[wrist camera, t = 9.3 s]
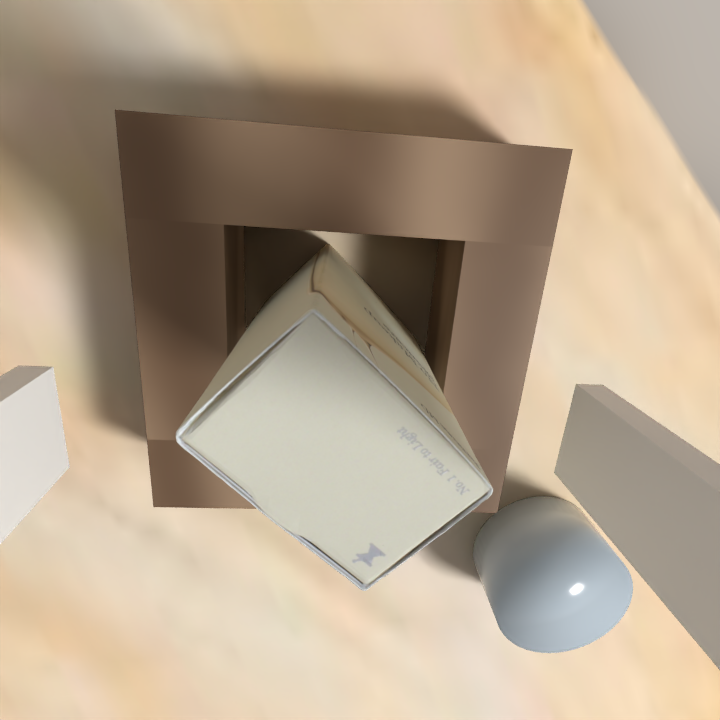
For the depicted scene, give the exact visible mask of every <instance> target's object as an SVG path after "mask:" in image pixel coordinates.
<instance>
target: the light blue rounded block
mask: <svg viewBox="0 0 720 720" xmlns="http://www.w3.org/2000/svg"><path fill="white" fill-rule="evenodd" d="M473 560H474V564H475V567H476V569H477V572H478V574H479V577H480V580H481V582H482V585H483V587H484V590H485V592H486V595H487V597H488V600H489V603H490V605H491V608H492V610H493V613H494V615H495V618H496V621H497V623H498V625H499V628H500V630H501V631H502V633H503V634H504V635H505V636H506V638H507V639H508V640H510V641H511V642H512V643H514V644H515V645H517V646H519V647H521V648H524V649H526V650H530V651H534V652H541V653H557V652H564V651H569V650H573V649H577V648H580V647H583V646H585V645H587V644H590V643H592V642H594V641H595V640H597V639H599V638H600V637H602V636H603V635H605V634H606V633H607V632H609V631H610V630H611V629H612V628H613V627H614V626H615V625H616V624H617V623H618V622H619V621H620V620H621V618H622V617H623V616H624V614H625V612H626V611H627V609H628V607H629V604H630V602H631V598H632V592H633V584H632V579H631V575H630V573H629V571H628V569H627V568H626V566H625V565H624V563H623V562H622V561H621V560H620V558H619V557H618V556H617V555H616V553H615V552H614V551H613V550H612V548H611V547H610V546H609V545H608V543H607V542H606V541H605V539H604V538H603V537H602V536H601V534H600V533H599V532H598V531H597V529H596V528H595V527H594V526H593V524H592V523H591V522H590V521H589V519H588V518H587V517H586V515H585V514H584V513H583V512H582V511H581V510H580V509H579V508H578V507H577V506H575V505H574V504H572V503H570V502H568V501H566V500H563V499H560V498H556V497H548V496H538V497H530V498H526V499H522V500H519V501H516V502H513V503H511V504H509V505H507V506H505V507H504V508H502V509H500V510H499V511H498V512H497V513H495V514H494V515H492V516H491V517H490V518H489V519H488V520H487V521H486V523H485V524H484V525H483V526H482V528H481V529H480V531H479V533H478V535H477V537H476V539H475V543H474V548H473Z"/></svg>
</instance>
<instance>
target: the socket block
mask: <svg viewBox="0 0 720 720" xmlns="http://www.w3.org/2000/svg"><path fill="white" fill-rule="evenodd" d="M115 117H116V127H117V137H118V148H119V158H120V168H121V178H122V188H123V199H124V209H125V219H126V229H127V240H128V250H129V260H130V270H131V281H132V291H133V301H134V311H135V322H136V332H137V342H138V352H139V363H140V373H141V383H142V393H143V404H144V414H145V424H146V434H147V445H148V455H149V465H150V475H151V486H152V496H153V506H154V507H185V508H244V509H257V508H255V507H254V506H253V505H252V504H251V503H250V502H249V501H247V500H246V499H245V498H244V497H242V496H241V495H240V494H239V493H237V492H236V491H235V490H234V489H233V488H231V487H230V486H229V485H227V484H226V483H225V482H224V481H223V480H222V479H220V478H219V477H218V476H216V475H215V474H214V473H213V472H212V471H211V470H209V469H208V468H207V467H206V466H204V465H203V464H202V463H201V462H200V461H199V460H197V459H196V458H195V457H194V456H192V455H191V454H190V453H189V452H187V451H186V450H185V449H183V448H182V447H181V446H180V445H179V444H178V443H177V441H176V432H177V430H178V428H179V427H180V425H181V424H182V423H183V421H184V420H185V418H186V417H187V416H188V414H189V413H190V411H191V410H192V408H193V407H194V406H195V404H196V403H197V401H198V400H199V398H200V397H201V396H202V394H203V393H204V391H205V390H206V388H207V387H208V385H209V384H210V382H211V381H212V379H213V378H214V376H215V375H216V373H217V372H218V371H219V369H220V368H221V366H222V365H223V363H224V362H225V360H226V359H227V357H228V356H229V355H230V353H231V352H232V350H233V349H234V347H235V346H236V344H237V343H238V341H239V340H240V338H241V337H242V335H243V334H244V333H245V276H244V226H253V227H268V228H283V229H298V230H312V231H327V232H342V233H357V234H371V235H386V236H401V237H416V238H431V239H439V245H438V253H437V261H436V269H435V277H434V285H433V293H432V301H431V309H430V317H429V325H428V333H427V341H426V349H425V359H426V360H427V363H428V365H429V367H430V369H431V371H432V373H433V375H434V377H435V379H436V381H437V383H438V385H439V387H440V389H441V391H442V393H443V395H444V396H445V398H446V400H447V402H448V404H449V406H450V408H451V410H452V412H453V414H454V416H455V418H456V420H457V422H458V424H459V426H460V427H461V429H462V431H463V433H464V435H465V437H466V439H467V441H468V443H469V445H470V447H471V449H472V451H473V453H474V455H475V457H476V458H477V460H478V462H479V464H480V466H481V467H482V469H483V471H484V473H485V475H486V476H487V478H488V480H489V482H490V483H491V486H492V488H493V493H492V495H491V496H490V497H489V498H488V499H486V500H485V501H484V502H482V503H481V504H480V505H479V506H477V507H476V508H475V509H474V510H472V511H471V512H478V513H497V512H498V507H499V502H500V497H501V492H502V487H503V483H504V478H505V473H506V468H507V463H508V459H509V454H510V449H511V444H512V439H513V434H514V430H515V425H516V420H517V415H518V410H519V405H520V401H521V396H522V391H523V386H524V381H525V377H526V372H527V367H528V362H529V357H530V352H531V348H532V343H533V338H534V333H535V328H536V324H537V319H538V314H539V309H540V304H541V299H542V295H543V290H544V285H545V280H546V275H547V270H548V266H549V261H550V256H551V251H552V246H553V242H554V237H555V232H556V227H557V222H558V217H559V213H560V208H561V203H562V198H563V193H564V188H565V184H566V179H567V174H568V169H569V164H570V160H571V155H572V150H573V149H563V148H551V147H540V146H528V145H516V144H505V143H493V142H482V141H470V140H459V139H447V138H435V137H424V136H412V135H401V134H389V133H377V132H366V131H354V130H343V129H331V128H320V127H308V126H296V125H285V124H273V123H262V122H250V121H239V120H227V119H215V118H204V117H192V116H181V115H169V114H158V113H146V112H134V111H123V110H115Z"/></svg>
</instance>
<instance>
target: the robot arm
mask: <svg viewBox="0 0 720 720" xmlns="http://www.w3.org/2000/svg"><path fill="white" fill-rule="evenodd" d="M69 467H70V466H69V460H68V454H67V448H66V442H65V436H64V429H63V423H62V417H61V411H60V405H59V399H58V393H57V387H56V381H55V375H54V369H53V367H45V366H17V367H15V368H14V369H12V370H10V371H9V372H7V373H5V374H3V375H2V376H0V544H1V543H2V542H3V541H4V540H5V538H6V537H7V536H8V535H9V534H10V533H11V532H12V531H13V530H14V528H15V527H16V526H17V525H18V524H19V523H20V522H21V521H22V519H23V518H24V517H25V516H26V515H27V514H28V513H29V512H30V511H31V509H32V508H33V507H34V506H35V505H36V504H37V503H38V502H39V501H40V499H41V498H42V497H43V496H44V495H45V494H46V493H47V492H48V490H49V489H50V488H51V487H52V486H53V485H54V484H55V483H56V482H57V480H58V479H59V478H60V477H61V476H62V475H63V474H64V473H65V471H66V470H67V469H68V468H69ZM554 473H555V474H556V475H557V477H558V478H559V479H560V480H561V481H562V483H563V484H564V485H565V486H566V487H567V488H568V490H569V491H570V492H571V493H572V494H573V496H574V497H575V498H576V499H577V500H578V502H579V503H580V504H581V505H582V506H583V508H584V509H585V510H586V511H587V512H588V514H589V515H590V516H591V517H592V518H593V519H594V521H595V522H596V523H597V524H598V525H599V527H600V528H601V529H602V530H603V531H604V533H605V534H606V535H607V536H608V537H609V539H610V540H611V541H612V542H613V543H614V545H615V546H616V547H617V548H618V549H619V550H620V552H621V553H622V554H623V555H624V556H625V558H626V559H627V560H628V561H629V562H630V564H631V565H632V566H633V567H634V568H635V570H636V571H637V572H638V573H639V574H640V576H641V577H642V578H643V579H644V580H645V581H646V583H647V584H648V585H649V586H650V587H651V589H652V590H653V591H654V592H655V593H656V595H657V596H658V597H659V598H660V599H661V601H662V602H663V603H664V604H665V605H666V607H667V608H668V609H669V610H670V611H671V612H672V614H673V615H674V616H675V617H676V618H677V620H678V621H679V622H680V623H681V624H682V626H683V627H684V628H685V629H686V630H687V632H688V633H689V634H690V635H691V636H692V638H693V639H694V640H695V641H696V642H697V643H698V645H699V646H700V647H701V648H702V649H703V651H704V652H705V653H706V654H707V655H708V657H709V658H710V659H711V660H712V661H713V663H714V664H715V665H716V666H717V667H718V669H719V670H720V464H718V463H717V462H715V461H714V460H712V459H711V458H709V457H708V456H706V455H705V454H703V453H702V452H701V451H699V450H698V449H696V448H695V447H693V446H692V445H690V444H689V443H687V442H686V441H684V440H683V439H681V438H680V437H679V436H677V435H676V434H674V433H673V432H671V431H670V430H668V429H667V428H665V427H664V426H662V425H661V424H659V423H658V422H657V421H655V420H654V419H652V418H651V417H649V416H648V415H646V414H645V413H643V412H642V411H640V410H639V409H637V408H636V407H635V406H633V405H632V404H630V403H629V402H627V401H626V400H624V399H623V398H621V397H620V396H618V395H617V394H615V393H614V392H613V391H611V390H610V389H608V388H607V387H605V386H604V385H589V384H576V386H575V390H574V394H573V398H572V402H571V407H570V411H569V415H568V419H567V423H566V427H565V431H564V435H563V439H562V443H561V447H560V451H559V455H558V459H557V463H556V467H555V471H554Z"/></svg>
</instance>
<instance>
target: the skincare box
mask: <svg viewBox="0 0 720 720" xmlns="http://www.w3.org/2000/svg"><path fill="white" fill-rule="evenodd" d="M176 441H177V443H178V444H179V445H180V446H181V447H182V448H183V449H185V450H186V451H187V452H189V453H190V454H191V455H192V456H194V457H195V458H196V459H197V460H199V461H200V462H201V463H202V464H203V465H204V466H206V467H207V468H208V469H209V470H211V471H212V472H213V473H214V474H215V475H216V476H218V477H219V478H220V479H222V480H223V481H224V482H225V483H226V484H227V485H229V486H230V487H231V488H233V489H234V490H235V491H236V492H237V493H239V494H240V495H241V496H242V497H244V498H245V499H246V500H247V501H249V502H250V503H251V504H252V505H253V506H254V507H255V508H257V509H258V510H259V511H260V512H262V513H263V514H264V515H265V516H266V517H268V518H269V519H270V520H271V521H273V522H274V523H275V524H277V525H278V526H279V527H280V528H282V529H283V530H284V531H286V532H287V533H288V534H290V535H291V536H293V537H294V538H295V539H297V540H298V541H299V542H300V543H302V544H303V545H304V546H305V547H307V548H308V549H309V550H311V551H312V552H313V553H315V554H316V555H317V556H318V557H320V558H321V559H322V560H323V561H325V562H326V563H328V564H329V565H330V566H331V567H333V568H334V569H335V570H337V571H338V572H339V573H340V574H342V575H343V576H345V577H346V578H347V579H348V580H350V581H351V582H352V583H353V584H354V585H356V586H357V587H358V588H359V589H361V590H363V591H366V590H368V589H369V588H370V587H371V586H373V585H374V584H375V583H376V582H378V581H379V580H380V579H382V578H383V577H385V576H386V575H388V574H389V573H390V572H392V571H393V570H394V569H396V568H397V567H398V566H399V565H401V564H402V563H404V562H406V561H407V560H408V559H409V558H411V557H412V556H414V555H415V554H416V553H417V552H419V551H420V550H421V549H423V548H424V547H425V546H427V545H428V544H429V543H431V542H432V541H433V540H434V539H436V538H437V537H439V536H440V535H441V534H443V533H444V532H446V531H447V530H448V529H450V528H451V527H452V526H453V525H455V524H456V523H457V522H458V521H459V520H461V519H462V518H463V517H465V516H466V515H467V514H469V513H470V512H471V511H472V510H474V509H475V508H476V507H477V506H479V505H480V504H481V503H482V502H484V501H485V500H486V499H488V498H489V497H490V496H491V495H492V493H493V488H492V486H491V483H490V482H489V480H488V478H487V476H486V475H485V473H484V471H483V469H482V467H481V466H480V464H479V462H478V460H477V458H476V457H475V455H474V453H473V451H472V449H471V447H470V445H469V443H468V441H467V439H466V437H465V435H464V433H463V431H462V429H461V427H460V426H459V424H458V422H457V420H456V418H455V416H454V414H453V412H452V410H451V408H450V406H449V404H448V402H447V400H446V398H445V396H444V395H443V393H442V391H441V389H440V387H439V385H438V383H437V381H436V379H435V377H434V375H433V373H432V371H431V369H430V367H429V365H428V363H427V360H426V359H425V357H424V355H423V353H422V351H421V349H420V347H419V345H418V343H417V341H416V339H415V337H414V336H413V335H412V334H411V333H410V331H409V330H408V329H407V328H406V327H405V326H404V325H403V323H402V322H401V321H400V320H399V319H398V318H397V317H396V315H395V314H394V313H393V312H392V311H391V310H390V309H389V308H388V306H387V305H386V304H385V303H384V302H383V301H382V300H381V299H380V298H379V297H378V295H377V294H376V293H375V292H374V291H373V290H372V289H371V288H370V287H369V286H368V285H367V283H366V282H365V281H364V280H363V279H362V278H361V277H360V276H359V275H358V274H357V273H356V272H355V271H354V270H353V268H352V267H351V266H350V265H349V264H348V263H347V262H346V261H345V260H344V259H343V258H342V257H341V256H340V255H339V254H338V252H337V251H336V250H335V249H334V248H333V247H332V246H331V245H330V244H326V245H325V246H324V247H323V248H322V249H321V250H320V251H319V252H318V253H316V254H315V255H314V256H313V257H312V258H311V259H310V260H309V261H308V262H307V263H305V264H304V265H303V266H302V267H301V268H300V269H299V270H298V271H297V272H296V273H295V274H294V275H293V276H292V277H291V278H290V279H289V280H288V281H287V282H285V283H284V284H283V285H282V286H281V287H280V288H279V289H278V290H277V291H276V292H275V293H274V294H273V295H272V296H271V297H270V298H269V299H268V300H267V301H266V302H265V303H264V305H263V306H262V308H261V309H260V311H259V312H258V313H257V315H256V317H255V318H254V319H253V321H252V322H251V324H250V325H249V327H248V328H247V330H246V331H245V333H244V334H243V335H242V337H241V338H240V340H239V341H238V343H237V344H236V346H235V347H234V349H233V350H232V352H231V353H230V355H229V356H228V357H227V359H226V360H225V362H224V363H223V365H222V366H221V368H220V369H219V371H218V372H217V373H216V375H215V376H214V378H213V379H212V381H211V382H210V384H209V385H208V387H207V388H206V390H205V391H204V393H203V394H202V396H201V397H200V398H199V400H198V401H197V403H196V404H195V406H194V407H193V408H192V410H191V411H190V413H189V414H188V416H187V417H186V418H185V420H184V421H183V423H182V424H181V425H180V427H179V428H178V430H177V432H176Z"/></svg>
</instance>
